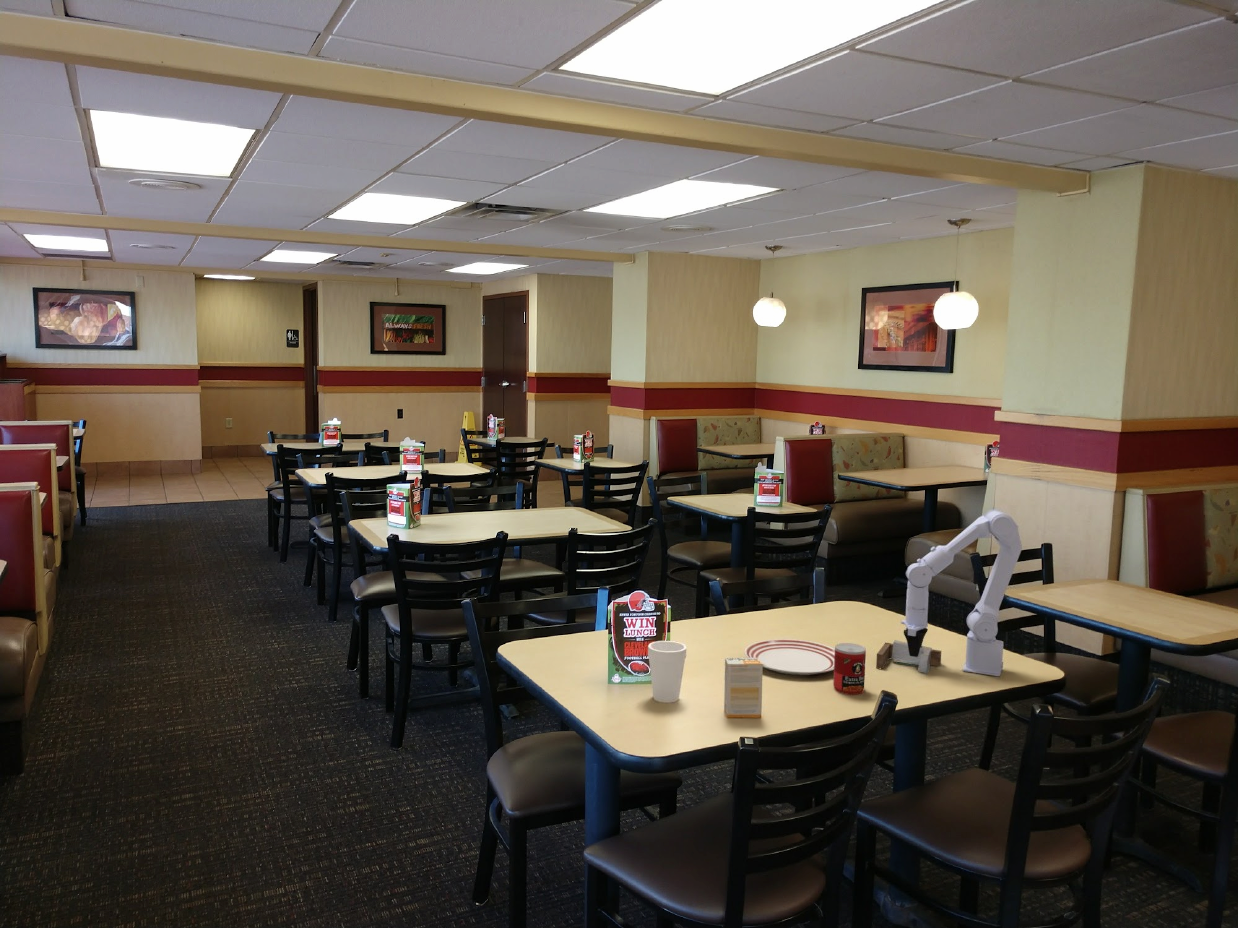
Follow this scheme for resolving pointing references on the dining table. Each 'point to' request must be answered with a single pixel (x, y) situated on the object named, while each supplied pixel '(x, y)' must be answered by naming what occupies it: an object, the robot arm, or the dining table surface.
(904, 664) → the pose mark
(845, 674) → the canned food
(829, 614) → the dining table surface
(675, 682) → the foam cup
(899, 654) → the bracket
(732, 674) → the supplement box
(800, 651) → the dinner plate
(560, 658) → the dining table surface
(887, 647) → the brown wooden l-shape
